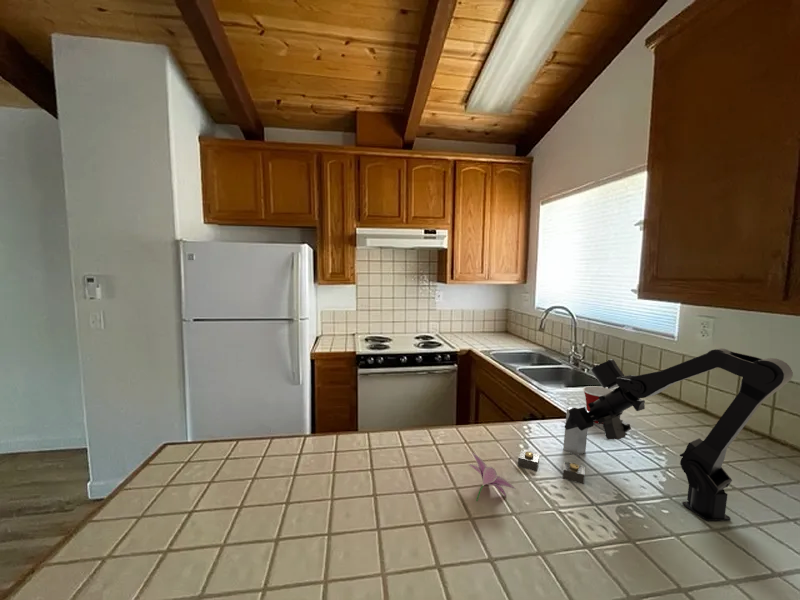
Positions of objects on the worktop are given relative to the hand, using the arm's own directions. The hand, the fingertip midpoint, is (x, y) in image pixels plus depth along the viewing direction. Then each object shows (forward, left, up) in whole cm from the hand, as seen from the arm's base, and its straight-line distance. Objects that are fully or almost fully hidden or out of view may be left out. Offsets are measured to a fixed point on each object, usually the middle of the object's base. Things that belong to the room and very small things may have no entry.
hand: (574, 425), depth 115 cm
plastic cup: (+23, -24, -8) cm, 34 cm away
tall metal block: (-1, 0, -8) cm, 8 cm away
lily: (-22, +35, -8) cm, 42 cm away
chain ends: (-12, +14, -8) cm, 20 cm away
